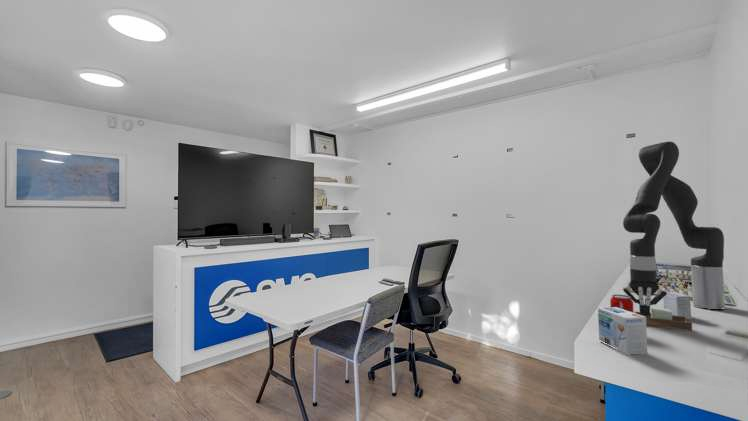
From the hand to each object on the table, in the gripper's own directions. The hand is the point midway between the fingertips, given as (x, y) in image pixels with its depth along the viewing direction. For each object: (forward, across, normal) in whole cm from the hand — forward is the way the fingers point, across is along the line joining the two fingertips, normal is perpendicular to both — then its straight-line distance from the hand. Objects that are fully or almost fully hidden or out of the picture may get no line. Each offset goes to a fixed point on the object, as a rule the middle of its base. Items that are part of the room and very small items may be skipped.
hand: (644, 315), depth 120 cm
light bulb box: (+3, +10, +31) cm, 33 cm away
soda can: (+3, +8, +15) cm, 17 cm away
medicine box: (+3, -12, -13) cm, 18 cm away
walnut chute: (+2, -5, 0) cm, 5 cm away
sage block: (+2, -5, 0) cm, 5 cm away
